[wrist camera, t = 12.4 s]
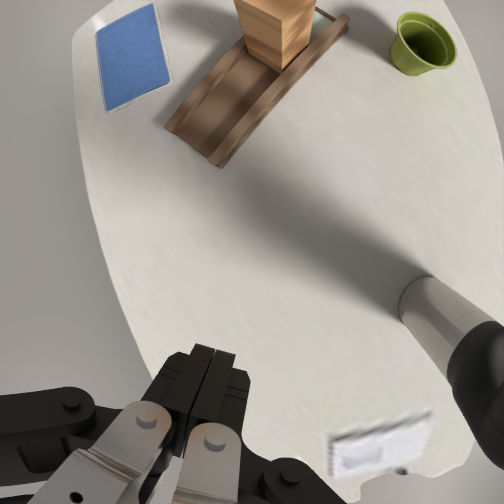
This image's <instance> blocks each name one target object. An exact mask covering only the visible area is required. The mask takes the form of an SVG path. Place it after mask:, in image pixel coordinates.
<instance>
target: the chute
mask: <svg viewBox="0 0 504 504" xmlns="http://www.w3.org/2000/svg"><path fill="white" fill-rule="evenodd" d="M349 19H350V18H349V17H347V16H346V15H344V14H342V15H341V16H340V17H339V18H338V19H335V18H334V17H332V16H331V15H329V14H328V13H326V12H324V11H323V10H321V9H319V8H318V7H316V6H315V11H314V17H313V22H312V28H311V34H310V39H309V45H308V47H307V48H306V49H305V50H304V51H303V52H302V53H301V54H300V55H299V56H298V57H297V58H296V59H295V60H294V61H293V62H292V63H291V64H290V65H289V66H288V67H287V68H286V70H285V71H284V72H283V73H282V74H280V73H279V72H277V71H276V70H274V69H273V68H271V67H270V66H268V65H266V64H265V63H263V62H262V61H260V60H259V59H257V58H255V57H254V56H252V55H250V54H249V53H248V49H247V45H246V42H245V38H244V36H243V37H242V38H241V39H240V40H239V41H238V42H237V43H236V44H235V45H234V46H233V47H232V48H231V49H230V50H229V51H228V52H227V53H226V54H225V55H224V56H223V57H222V58H221V59H220V60H219V62H218V63H217V64H216V65H215V66H214V67H213V68H212V69H211V70H210V71H209V73H208V74H207V75H206V76H205V77H204V78H203V79H202V80H201V82H200V83H199V84H198V85H197V86H196V87H195V89H194V90H193V91H192V92H191V93H190V95H189V96H188V97H187V98H186V99H185V101H184V102H183V103H182V104H181V106H180V107H179V108H178V109H177V111H176V112H175V113H174V114H173V116H172V117H171V118H170V120H169V121H168V122H167V124H166V125H165V126H164V128H165V129H167V130H168V131H169V132H171V133H174V134H176V135H177V136H179V137H180V138H181V139H183V140H184V141H185V142H187V143H188V144H189V145H191V146H192V147H193V148H195V149H196V150H197V151H198V152H200V153H201V154H202V155H204V156H205V157H206V158H208V161H209V162H210V163H212V164H213V165H214V166H217V167H219V168H220V169H223V167H224V166H225V165H226V164H227V162H228V161H229V160H230V159H231V157H232V156H233V155H234V154H235V152H236V151H237V150H238V149H239V148H240V146H241V145H242V144H243V143H244V142H245V140H246V139H247V138H248V137H249V136H250V134H251V133H252V132H253V131H254V130H255V128H256V127H257V126H258V125H259V124H260V123H261V121H262V120H263V119H264V118H265V117H266V116H267V115H268V113H269V112H270V111H271V110H272V109H273V108H274V107H275V105H276V104H277V103H278V102H279V101H280V100H281V99H282V98H283V96H284V95H285V94H286V93H287V92H288V91H289V90H290V89H291V88H292V87H293V86H294V84H295V83H296V82H297V81H298V80H299V79H300V78H301V77H302V76H303V75H304V74H305V73H306V72H307V71H308V70H309V68H310V67H311V66H312V65H313V64H314V63H315V62H316V61H317V60H318V59H319V58H320V57H321V56H322V55H323V54H324V53H325V52H326V51H327V50H328V49H329V48H330V47H331V46H332V45H333V44H334V43H335V42H336V41H337V40H338V39H339V38H340V37H341V36H342V35H343V34H344V33H345V32H346V31H348V28H349V27H348V26H347V24H348V22H349Z"/></svg>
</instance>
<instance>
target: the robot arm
mask: <svg viewBox="0 0 504 504" xmlns="http://www.w3.org/2000/svg"><path fill="white" fill-rule="evenodd" d="M399 315H400V318H401V320H402V322H403V323H404V325H405V326H406V327H407V328H408V330H409V331H410V332H411V333H412V335H413V336H414V337H415V339H416V340H417V341H418V342H419V344H420V345H421V346H422V347H423V349H424V350H425V351H426V353H427V354H428V355H429V357H430V358H431V359H432V360H433V362H434V363H435V364H436V366H437V367H438V368H439V370H440V371H441V372H442V374H443V375H444V376H445V378H446V379H447V381H448V382H449V384H450V385H451V386H452V392H453V397H454V399H455V402H456V403H457V405H458V407H459V408H460V410H461V412H462V414H463V416H464V417H465V419H466V421H467V423H468V425H469V427H470V429H471V431H472V433H473V435H474V437H475V439H476V440H477V442H478V444H479V446H480V447H481V449H482V450H483V452H484V453H485V455H486V456H487V457H488V458H489V459H490V460H491V461H492V462H493V463H494V464H495V465H496V466H498V467H499V468H501V469H503V470H504V326H502V325H501V324H500V323H498V322H497V321H496V320H494V319H493V318H492V317H490V316H489V315H488V314H486V313H485V312H483V311H482V310H481V309H479V308H478V307H477V306H475V305H474V304H472V303H471V302H470V301H468V300H467V299H465V298H464V297H463V296H461V295H460V294H458V293H457V292H456V291H454V290H453V289H451V288H450V287H448V286H447V285H445V284H444V283H442V282H441V281H439V280H438V279H436V278H434V277H428V276H426V277H421V278H419V279H417V280H415V281H414V282H412V283H411V284H410V285H409V286H408V287H407V289H406V290H405V291H404V293H403V295H402V297H401V300H400V303H399ZM214 354H215V355H214ZM235 356H236V355H235V354H232V353H228V352H224V351H221V350H216V352H215V349H214V348H210V347H207V346H204V345H200V344H197V343H196V344H195V346H194V348H193V349H192V351H191V353H190V355H188V354H185V353H182V352H177V353H175V354H173V355H171V356H170V357H168V359H167V360H166V362H165V363H164V365H163V367H162V368H161V369H160V371H159V372H158V374H157V375H156V377H155V379H154V380H153V382H152V383H151V385H150V386H149V388H148V389H147V391H146V393H145V394H144V396H143V397H142V399H141V400H140V401H136V402H132V403H130V404H128V405H127V406H126V407H125V408H124V409H111V408H106V407H101V406H96V405H95V403H94V400H93V398H92V397H91V396H90V395H89V394H88V393H87V392H86V391H84V390H82V389H80V388H76V387H62V388H56V389H49V390H42V391H35V392H27V393H19V394H10V395H0V486H11V485H20V484H28V483H34V482H40V481H46V480H47V482H46V483H45V484H44V485H43V486H42V487H41V488H40V489H39V491H38V492H37V493H36V494H31V495H19V496H13V497H6V498H0V504H149V503H150V501H151V499H152V497H153V496H154V494H155V492H156V490H157V488H158V486H159V485H160V483H161V481H162V479H163V477H164V475H165V473H166V469H167V468H168V466H169V463H170V461H171V458H172V456H177V457H181V454H182V452H183V457H182V458H183V463H182V467H181V471H180V475H179V479H178V483H177V487H176V491H175V492H174V495H173V499H172V503H171V504H347V503H346V502H345V501H344V500H342V499H341V498H340V497H339V496H338V495H337V494H336V493H335V492H334V491H333V490H332V489H331V488H330V487H329V486H328V485H327V484H326V483H325V482H324V481H323V480H322V479H321V478H320V477H319V476H318V475H317V474H316V473H315V472H314V471H313V470H312V469H311V468H310V467H309V466H308V465H307V464H305V463H304V462H302V461H300V460H297V459H294V458H278V459H275V460H273V461H269V460H267V459H265V458H262V457H260V456H258V455H256V454H255V453H253V452H252V451H250V450H249V449H248V448H247V446H246V445H245V444H244V442H243V440H242V435H241V433H242V426H243V421H244V416H245V410H246V405H247V399H248V394H249V388H250V382H251V381H250V379H249V376H248V374H247V371H243V370H240V369H236V368H232V367H233V363H234V360H235ZM183 449H184V451H183ZM81 502H82V503H81Z"/></svg>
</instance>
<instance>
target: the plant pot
mask: <svg viewBox="0 0 504 504" xmlns="http://www.w3.org/2000/svg"><path fill="white" fill-rule="evenodd" d="M397 32H398V33H397V36H396V38H395V41H394V43H393V45H392V48H391V51H390V57H391V60H392V62H393V64H394V65H395V66H396V67H397V68H398V69H399V70H401V71H402V72H403V73H404V74H406V75H409V76H418V75H420V74H422V73H425V72H427V71H430V70H432V69H446V68H449V67H450V66H452V65H453V64H454V63H455V61H456V58H457V49H456V45H455V43H454V41H453V38H452V37H451V35H450V34H449V32H448V31H447V30H446V29H445V28H444V27H443V26H442V25H441V24H440V23H439V22H438V21H436V20H435V19H433V18H432V17H430V16H428V15H426V14H423V13H419V12H407V13H404V14H403V15H401V16H400V17H399V19H398V22H397Z"/></svg>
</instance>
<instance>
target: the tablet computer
mask: <svg viewBox="0 0 504 504" xmlns="http://www.w3.org/2000/svg"><path fill="white" fill-rule="evenodd" d="M96 43H97V53H98V63H99V71H100V79H101V87H102V94H103V99H104V106H105V111H106V113H107V114H112V113H114V112H116V111H118V110H120V109H122V108H124V107H126V106H128V105H130V104H132V103H134V102H136V101H139V100H141V99H143V98H145V97H147V96H150V95H152V94H154V93H157V92H159V91H162V90H164V89H167V88H169V87H171V86H172V85H173V83H174V79H173V75H172V71H171V68H170V64H169V60H168V55H167V51H166V46H165V42H164V38H163V33H162V29H161V24H160V20H159V15H158V10H157V5H156V4H155V3H150V4H148V5H146V6H144V7H142V8H139V9H137V10H135V11H133V12H131V13H129V14H127V15H125V16H123V17H121V18H120V19H118V20H116V21H114V22H112V23H110V24H109V25H107V26H105V27H103V28H102V29H100V30H99V31H98V32H97V33H96Z"/></svg>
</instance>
